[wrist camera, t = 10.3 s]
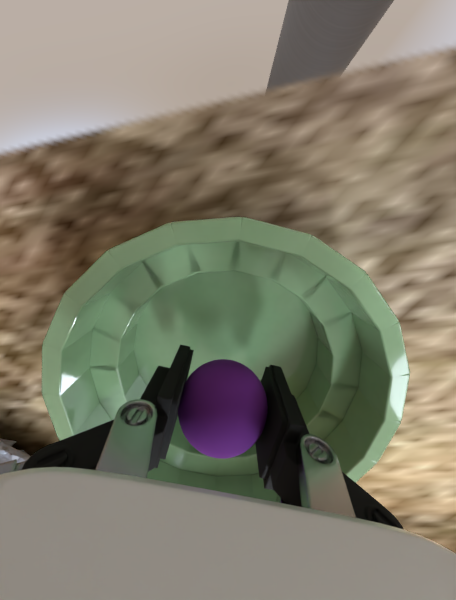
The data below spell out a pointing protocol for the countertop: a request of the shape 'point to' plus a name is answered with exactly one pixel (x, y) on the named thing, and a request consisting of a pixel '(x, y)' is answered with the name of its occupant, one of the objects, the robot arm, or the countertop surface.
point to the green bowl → (230, 339)
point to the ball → (222, 408)
